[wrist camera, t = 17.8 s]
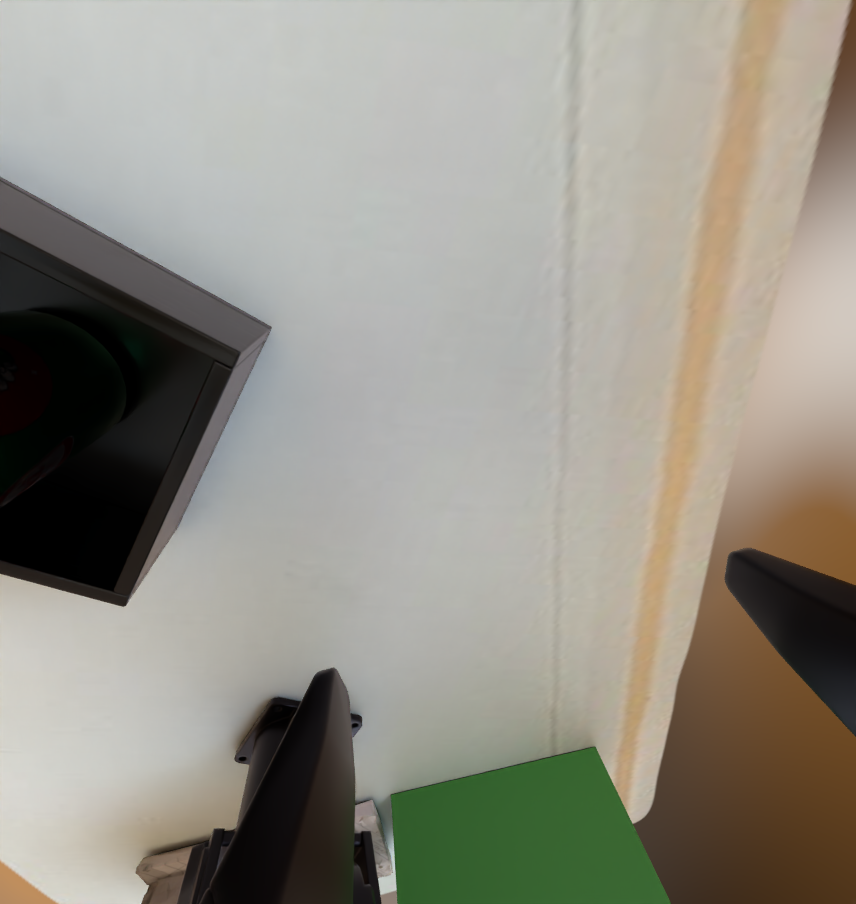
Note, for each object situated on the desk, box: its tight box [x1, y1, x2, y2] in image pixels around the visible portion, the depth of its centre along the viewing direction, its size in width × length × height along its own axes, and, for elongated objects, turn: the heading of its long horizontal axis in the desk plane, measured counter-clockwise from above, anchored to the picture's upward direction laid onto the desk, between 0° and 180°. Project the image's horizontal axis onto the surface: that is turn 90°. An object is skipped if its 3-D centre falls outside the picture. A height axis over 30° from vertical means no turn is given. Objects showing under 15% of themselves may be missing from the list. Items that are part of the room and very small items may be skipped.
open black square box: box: [0, 177, 272, 607], centre depth 14 cm, size 11×12×5 cm
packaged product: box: [136, 800, 393, 904], centre depth 32 cm, size 18×5×10 cm
